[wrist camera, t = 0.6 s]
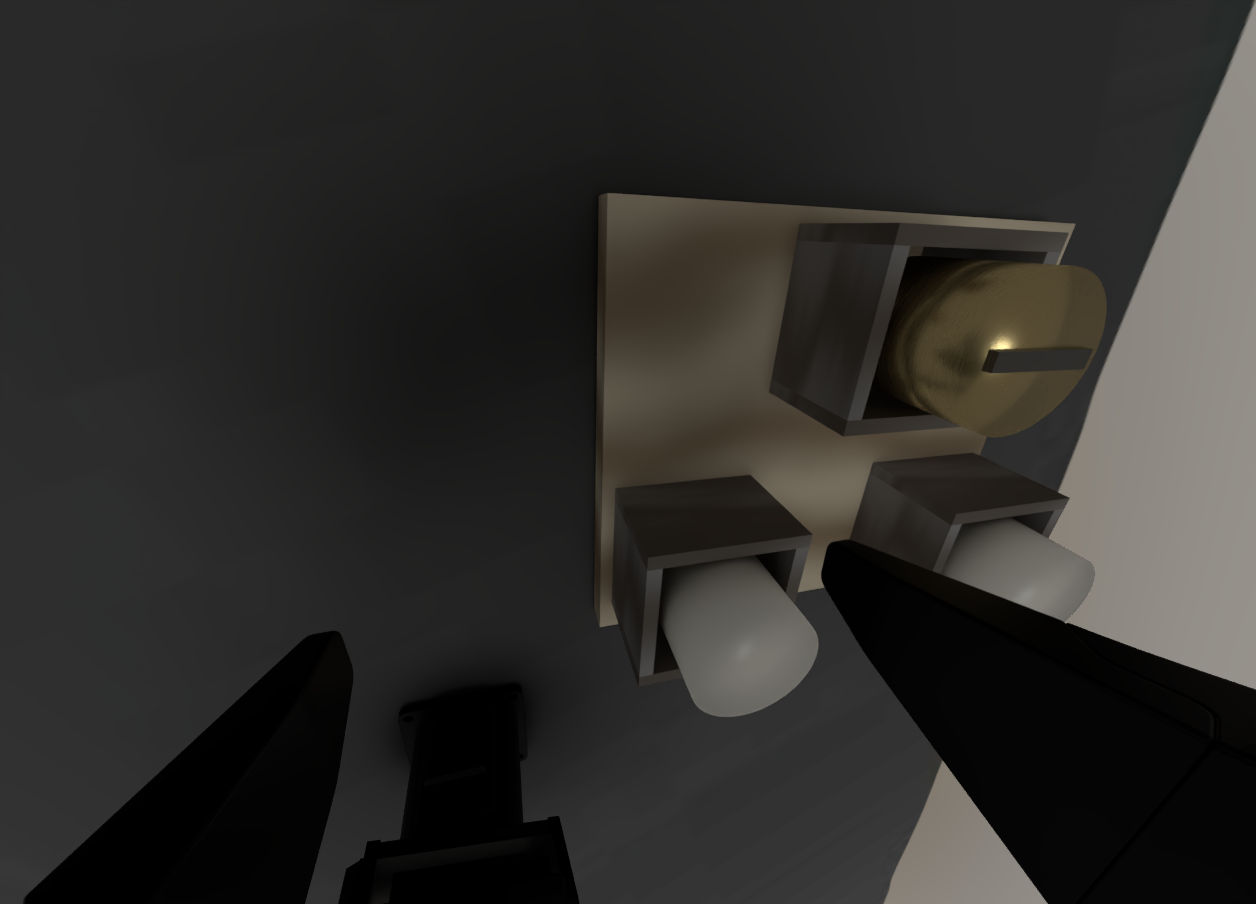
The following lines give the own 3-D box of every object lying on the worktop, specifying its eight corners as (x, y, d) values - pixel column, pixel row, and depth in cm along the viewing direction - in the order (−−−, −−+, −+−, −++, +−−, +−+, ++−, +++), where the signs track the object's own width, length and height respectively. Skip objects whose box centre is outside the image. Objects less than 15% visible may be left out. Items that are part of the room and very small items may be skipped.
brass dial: (930, 385, 19) (1066, 435, 15) (829, 390, 18) (944, 447, 13) (973, 257, 17) (1150, 268, 13) (862, 253, 16) (1012, 264, 11)
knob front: (742, 608, 22) (802, 700, 18) (644, 626, 21) (683, 729, 17) (759, 523, 20) (832, 604, 16) (650, 537, 19) (698, 629, 15)
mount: (913, 554, 31) (1007, 627, 25) (594, 606, 25) (623, 714, 20) (1041, 224, 22) (1227, 223, 17) (598, 195, 17) (653, 180, 11)
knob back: (965, 568, 26) (1061, 637, 22) (893, 581, 25) (979, 657, 20) (1000, 491, 24) (1114, 551, 19) (922, 501, 22) (1026, 567, 18)
